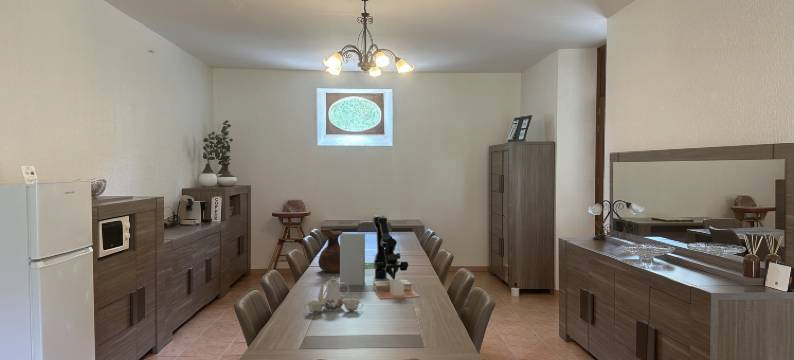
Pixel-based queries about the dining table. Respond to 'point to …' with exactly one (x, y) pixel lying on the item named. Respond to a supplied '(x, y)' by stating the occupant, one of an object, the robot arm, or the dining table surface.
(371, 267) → the decorative card
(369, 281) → the dining table surface
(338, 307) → the chinaware
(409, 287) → the board
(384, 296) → the mat
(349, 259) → the tall white box
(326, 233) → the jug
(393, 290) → the block
